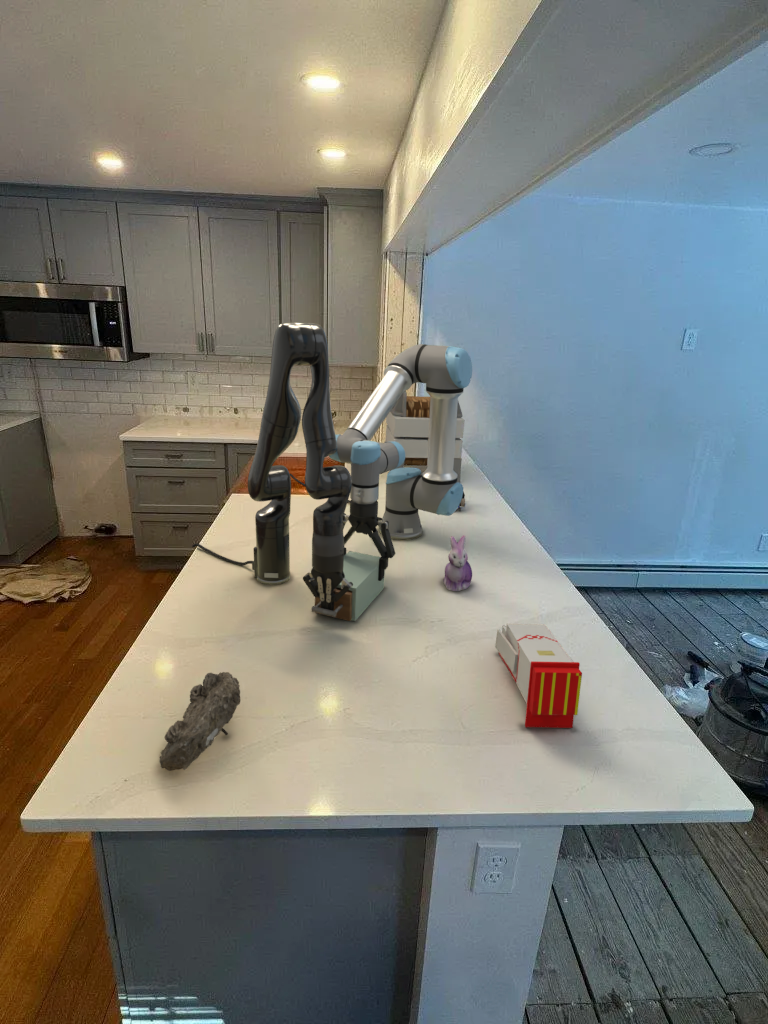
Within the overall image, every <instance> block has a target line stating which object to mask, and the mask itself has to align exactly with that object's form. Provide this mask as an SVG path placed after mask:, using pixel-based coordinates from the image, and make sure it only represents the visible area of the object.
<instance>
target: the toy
mask: <svg viewBox="0 0 768 1024" xmlns="http://www.w3.org/2000/svg"><path fill="white" fill-rule="evenodd" d="M551 631H552V630H551V629H550V628H548V627H547V625H546V624H545V623H506V625H502V628H501V629H500V628H499V629H497V630H496V636H495V637H496V638H495V644H494V647H495V649H496V651H497V652H498V655H499V657H500V659H501V661H502V662H503V664H504V666H505V667H506V669H507V670H508V672H509V674H510V676H511V677H512V679H513V680H514V682H515V683H516V686H517V688H518V690H519V693H520V694H521V695H522V698H523V700H524V702H525V704H526V708H525V709H526V710H525V721H524V727H525V728H552V729H553V728H555V729H556V728H557V729H562V728H563V729H573V726H574V719H575V716H578V712H579V703H580V695H581V687H582V677H583V672H582V670H580V667H581V665H580V662H578V661H573V659H572V657H570V656H569V655H570V654H568V653H567V651H566V650H565V649H564V647H563V646H562V645H561V644H560V641H558V639H557V638H556V637H555V636H554V634H553V633H552V632H551Z"/></svg>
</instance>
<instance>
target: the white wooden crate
mask: <svg viewBox="0 0 768 1024" xmlns="http://www.w3.org/2000/svg"><path fill="white" fill-rule="evenodd" d="M407 394H408V393H407V390H405V391H404V392H403V393H402V394H401V396H400V397H399V399H398V400H397V402H396V403H395V405H394V406H393V408H392V409H391V411H390V412H389V414H388V415H387V417H386V418H385V423H386V428H385V438H384V442H383V443H386V442H392V441H395V442H398V443H399V444H401V445H402V447H403V448H404V450H405V460H404V462H403V464H402V465H401V466H399V467H397V468H396V469H398V468H405V466H406V467H408V466H411V467H415V466H416V467H417V466H418V467H427V459H428V438H429V417H430V396H415V395H414V396H413V395H412V396H411V395H407ZM464 429H465V419H464V418H463V411H462V408H461V405H460V402H459V401H458V405H457V420H456V435H455V450H454V466H453V471H454V472H455V473H456V474H457V482H460V483H461V472H462V461H463V460H462V453H463V442H464V441H463V440H462V439H463V438H464V431H465V430H464ZM390 471H391V470H390ZM390 471H389V472H390Z"/></svg>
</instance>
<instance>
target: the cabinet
mask: <svg viewBox="0 0 768 1024" xmlns="http://www.w3.org/2000/svg"><path fill="white" fill-rule="evenodd" d="M380 557H381V556H377V555H372V554H368V553H362V552H358V551H352V550H349V551H347V552H346V554H345V555H344V567H343V572H344V574H345V579H346V580H347V581H348V582H352V583H353V586H352V587H351V588H350V589H349V590H350V591H352V619H351V620H350V622H356V621H357V620H358V619H359V618H360V616H361V615H362V614H363V613H364V612H365V611H366V609H368V607H369V606H370V605H371V604H372V602H373V601H374V600H375V599H376V598H377V597H378V596H379V594H380V593H381V592H382V591H383V590H384V589H385V577H386V576H385V574H386V571H385V572H384V578H383V579H382V580H381V581H378V572H379V558H380ZM341 585H342V583H340V584H339V585H338V586H337V588H341Z"/></svg>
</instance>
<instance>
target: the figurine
mask: <svg viewBox="0 0 768 1024" xmlns="http://www.w3.org/2000/svg"><path fill="white" fill-rule="evenodd" d="M449 539H450V540H449V541H450V551H449V553H448V561H449V562H448V563H447V564H446V565H445V566H444V577H443V585H444V586H445V588H446V589H447V590H449V591H452V592H461V591H463V590H464V591H465V590H467V589H468V588H469V587H470V586H471V582H472V580H473V569H472V567H471V565H470V563H469V561H468V559H469V556H468V553H467V550H466V548H465V544H466V535H465V534H463V535H462V536H461V537H460V538H459V540H458V541H457V540H456V538H455V536H453V535H451V536H450V537H449Z"/></svg>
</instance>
